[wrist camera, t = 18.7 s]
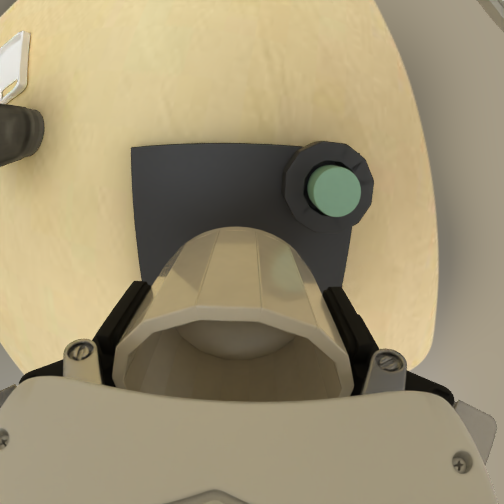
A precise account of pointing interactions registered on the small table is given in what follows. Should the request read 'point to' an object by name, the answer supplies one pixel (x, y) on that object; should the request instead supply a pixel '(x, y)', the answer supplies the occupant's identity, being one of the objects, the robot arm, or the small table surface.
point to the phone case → (14, 65)
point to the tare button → (334, 190)
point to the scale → (242, 199)
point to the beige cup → (234, 326)
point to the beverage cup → (19, 132)
